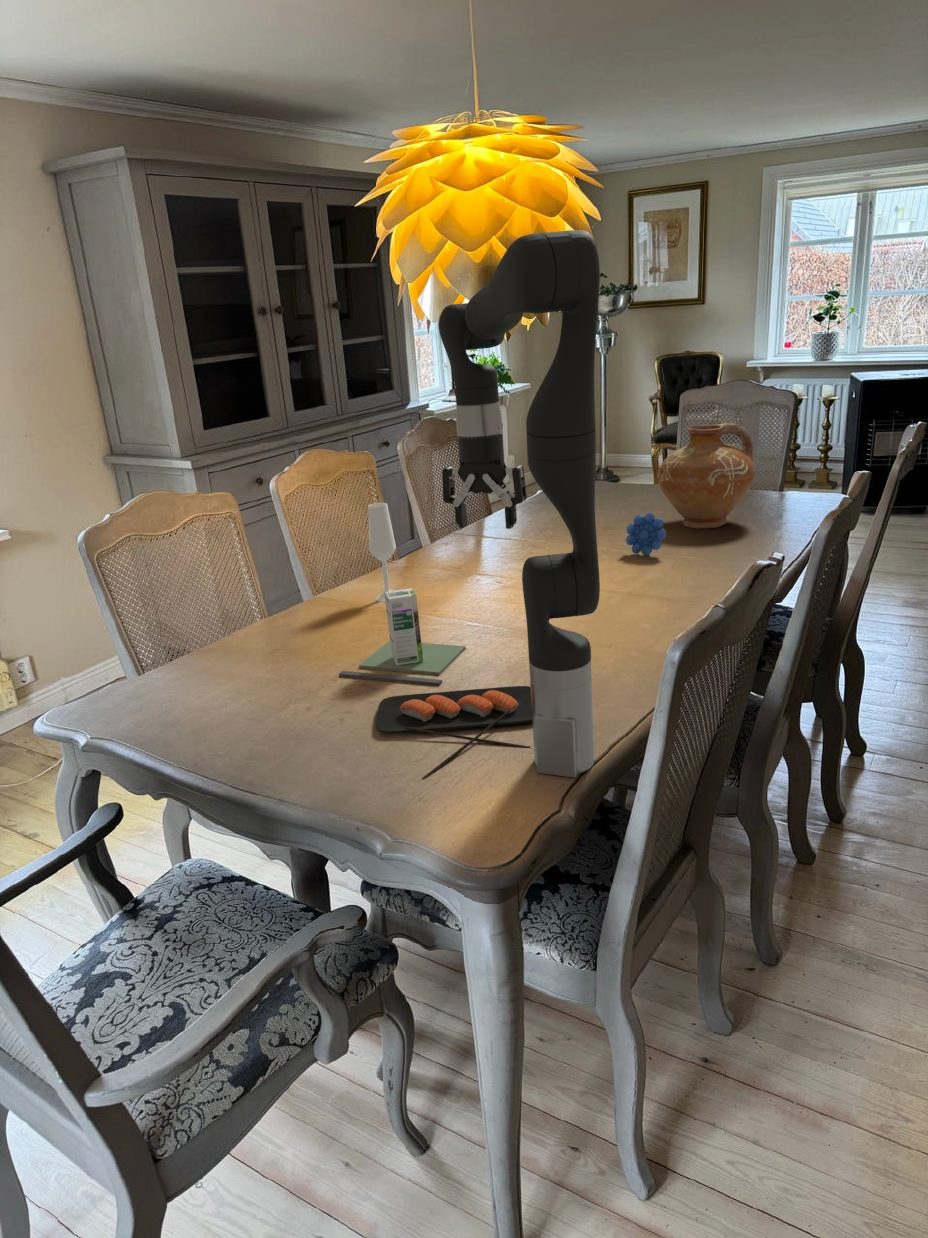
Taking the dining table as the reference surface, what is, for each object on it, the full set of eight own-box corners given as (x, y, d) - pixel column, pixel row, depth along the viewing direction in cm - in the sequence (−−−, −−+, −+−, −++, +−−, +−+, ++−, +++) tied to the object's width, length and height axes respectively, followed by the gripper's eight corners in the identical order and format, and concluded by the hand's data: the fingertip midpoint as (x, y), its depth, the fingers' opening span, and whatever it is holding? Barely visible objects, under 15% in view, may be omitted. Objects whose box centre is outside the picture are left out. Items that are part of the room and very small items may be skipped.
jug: (650, 516, 277) (649, 422, 267) (739, 510, 276) (742, 415, 265) (666, 538, 251) (666, 435, 241) (765, 532, 249) (769, 427, 239)
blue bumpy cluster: (671, 552, 237) (671, 510, 233) (662, 559, 231) (662, 515, 227) (632, 549, 243) (631, 507, 239) (622, 555, 238) (621, 513, 234)
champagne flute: (397, 601, 215) (386, 507, 207) (371, 601, 217) (360, 508, 208) (404, 593, 221) (394, 501, 213) (379, 593, 223) (368, 502, 215)
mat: (439, 675, 169) (439, 672, 169) (359, 667, 176) (358, 665, 176) (465, 648, 181) (465, 646, 181) (389, 643, 188) (389, 640, 188)
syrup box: (396, 666, 174) (388, 598, 169) (391, 656, 179) (383, 590, 174) (423, 662, 175) (416, 594, 170) (418, 652, 180) (411, 586, 175)
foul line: (439, 685, 164) (438, 683, 164) (339, 676, 173) (338, 673, 173) (442, 682, 166) (442, 679, 166) (342, 673, 174) (342, 670, 174)
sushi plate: (536, 693, 160) (535, 674, 158) (557, 775, 131) (556, 753, 130) (380, 706, 160) (378, 687, 158) (367, 791, 131) (364, 769, 130)
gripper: (431, 435, 141) (439, 532, 146) (513, 433, 136) (519, 533, 141) (448, 429, 147) (456, 521, 153) (527, 426, 142) (533, 522, 147)
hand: (486, 527), depth 147 cm, fingers open, 8 cm apart
